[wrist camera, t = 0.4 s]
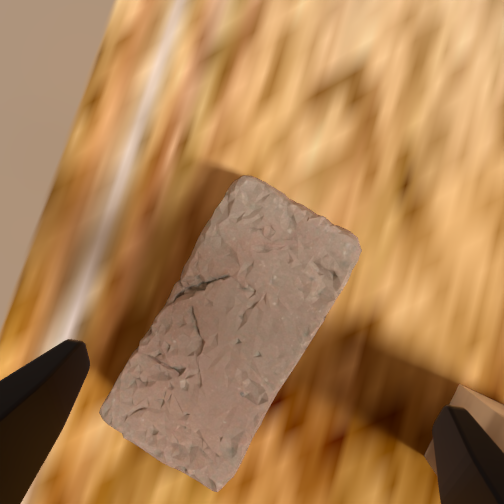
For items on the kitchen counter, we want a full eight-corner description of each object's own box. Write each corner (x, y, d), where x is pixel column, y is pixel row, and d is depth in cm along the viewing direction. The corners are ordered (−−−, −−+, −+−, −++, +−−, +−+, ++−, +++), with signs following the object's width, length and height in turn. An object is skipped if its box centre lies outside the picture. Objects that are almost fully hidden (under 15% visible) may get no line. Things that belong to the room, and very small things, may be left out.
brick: (247, 178, 24) (237, 160, 20) (360, 241, 23) (377, 239, 19) (127, 390, 25) (89, 422, 20) (231, 457, 24) (218, 506, 20)
